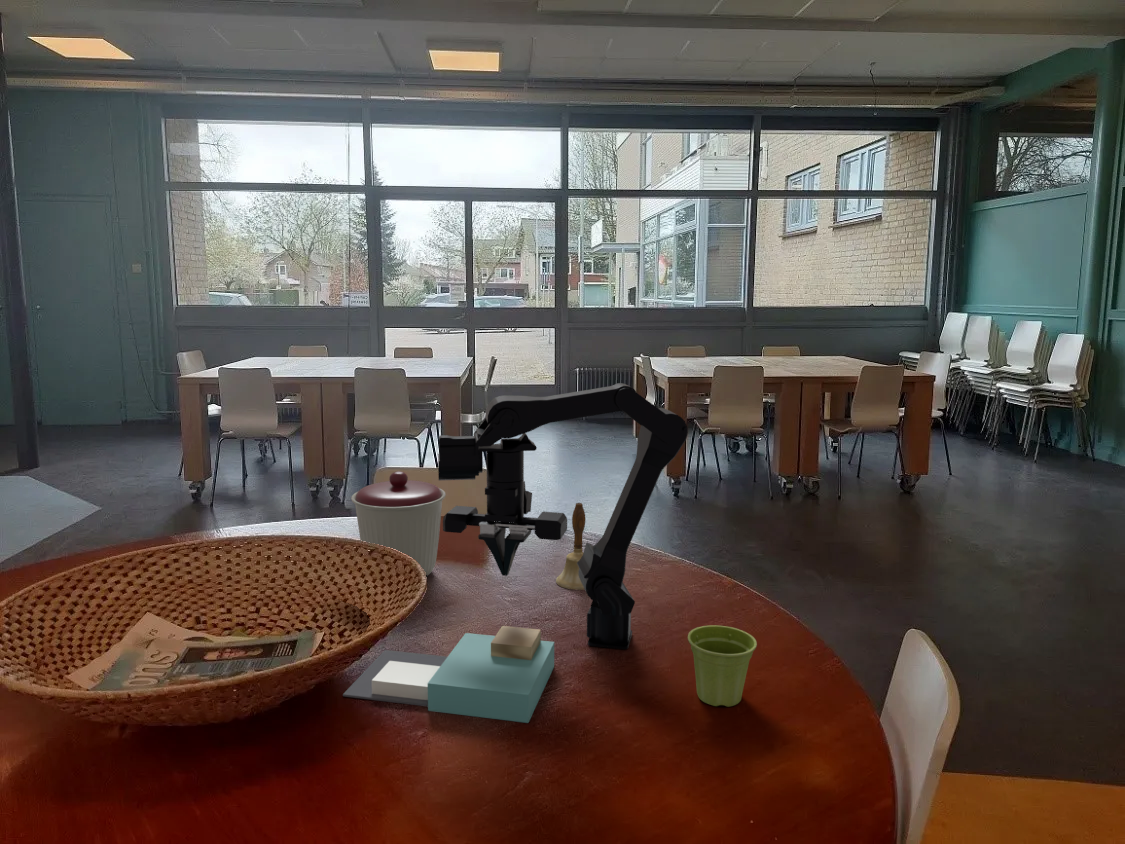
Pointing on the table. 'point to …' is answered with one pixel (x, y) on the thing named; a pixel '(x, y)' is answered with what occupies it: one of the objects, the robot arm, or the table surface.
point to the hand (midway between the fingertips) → (505, 574)
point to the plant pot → (721, 662)
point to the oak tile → (516, 642)
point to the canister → (401, 517)
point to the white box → (404, 680)
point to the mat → (364, 682)
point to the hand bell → (574, 553)
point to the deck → (489, 681)
